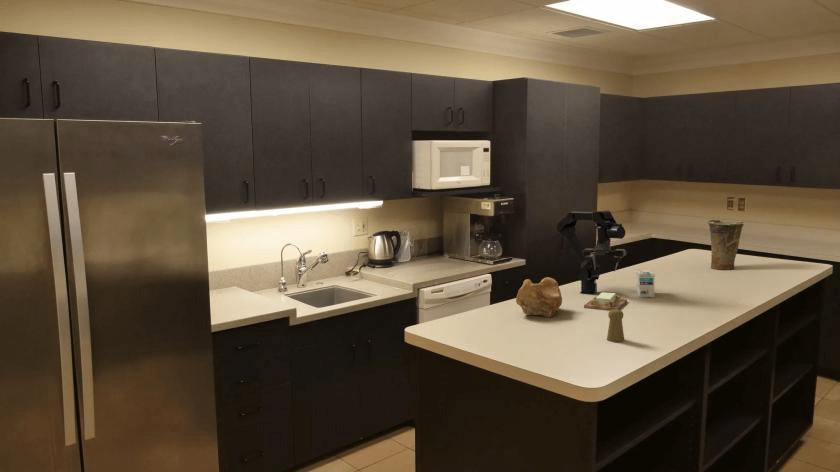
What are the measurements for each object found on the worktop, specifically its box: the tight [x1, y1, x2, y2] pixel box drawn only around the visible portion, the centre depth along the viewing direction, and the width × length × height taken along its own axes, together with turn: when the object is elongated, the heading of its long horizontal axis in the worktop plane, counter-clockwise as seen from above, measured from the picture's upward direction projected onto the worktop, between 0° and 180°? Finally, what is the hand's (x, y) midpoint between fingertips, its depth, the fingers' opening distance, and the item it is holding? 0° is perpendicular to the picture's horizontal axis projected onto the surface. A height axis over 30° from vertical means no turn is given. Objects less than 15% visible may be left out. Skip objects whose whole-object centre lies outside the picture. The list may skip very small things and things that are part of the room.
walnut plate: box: [583, 293, 628, 312], centre depth 276 cm, size 14×18×3 cm
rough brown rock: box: [515, 276, 563, 319], centre depth 263 cm, size 23×17×15 cm
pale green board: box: [595, 292, 617, 306], centre depth 276 cm, size 6×12×3 cm, turn 151°
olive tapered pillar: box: [606, 309, 625, 343], centre depth 224 cm, size 6×6×11 cm
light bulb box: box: [636, 269, 655, 298], centre depth 293 cm, size 11×7×11 cm, turn 168°
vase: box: [707, 219, 745, 271], centre depth 349 cm, size 18×18×27 cm
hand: (604, 270), depth 291 cm, fingers open, 9 cm apart
